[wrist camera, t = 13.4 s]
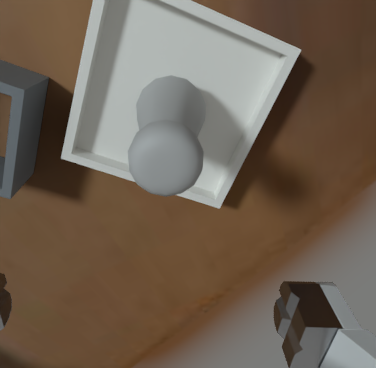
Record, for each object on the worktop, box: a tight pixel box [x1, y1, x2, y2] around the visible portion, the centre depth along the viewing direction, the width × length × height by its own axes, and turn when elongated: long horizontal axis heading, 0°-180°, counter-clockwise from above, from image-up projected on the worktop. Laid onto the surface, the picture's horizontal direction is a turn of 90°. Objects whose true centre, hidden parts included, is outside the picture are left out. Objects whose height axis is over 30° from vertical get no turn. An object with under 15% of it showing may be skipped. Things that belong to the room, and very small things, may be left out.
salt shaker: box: [128, 75, 206, 196], centre depth 22 cm, size 6×6×13 cm
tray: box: [61, 0, 301, 209], centre depth 28 cm, size 16×16×2 cm
